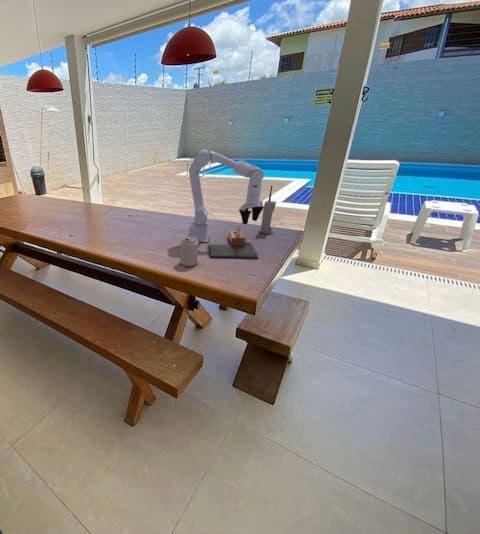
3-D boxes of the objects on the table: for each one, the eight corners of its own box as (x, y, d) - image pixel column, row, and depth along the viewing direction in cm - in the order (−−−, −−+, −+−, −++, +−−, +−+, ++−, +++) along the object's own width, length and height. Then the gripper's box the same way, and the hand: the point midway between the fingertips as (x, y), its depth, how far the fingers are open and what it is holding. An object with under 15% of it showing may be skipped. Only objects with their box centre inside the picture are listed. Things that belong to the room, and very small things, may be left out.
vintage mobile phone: (270, 234, 162) (278, 186, 151) (260, 233, 164) (267, 185, 153) (271, 232, 164) (279, 184, 154) (261, 231, 167) (268, 184, 156)
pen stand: (231, 245, 151) (232, 237, 149) (228, 237, 160) (229, 230, 159) (244, 245, 150) (245, 237, 148) (240, 238, 159) (241, 230, 158)
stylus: (235, 243, 153) (237, 224, 148) (234, 242, 154) (237, 223, 150) (238, 243, 152) (241, 224, 148) (238, 242, 154) (240, 223, 149)
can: (177, 260, 138) (178, 235, 133) (194, 259, 139) (195, 234, 133) (182, 267, 132) (183, 241, 126) (199, 266, 132) (201, 240, 127)
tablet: (210, 257, 139) (210, 255, 139) (208, 246, 152) (208, 244, 151) (257, 258, 136) (257, 256, 135) (251, 247, 148) (251, 244, 147)
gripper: (251, 198, 137) (247, 227, 143) (270, 193, 144) (266, 220, 150) (238, 196, 143) (234, 223, 149) (257, 191, 150) (253, 217, 156)
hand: (249, 222), depth 150 cm, fingers open, 7 cm apart
